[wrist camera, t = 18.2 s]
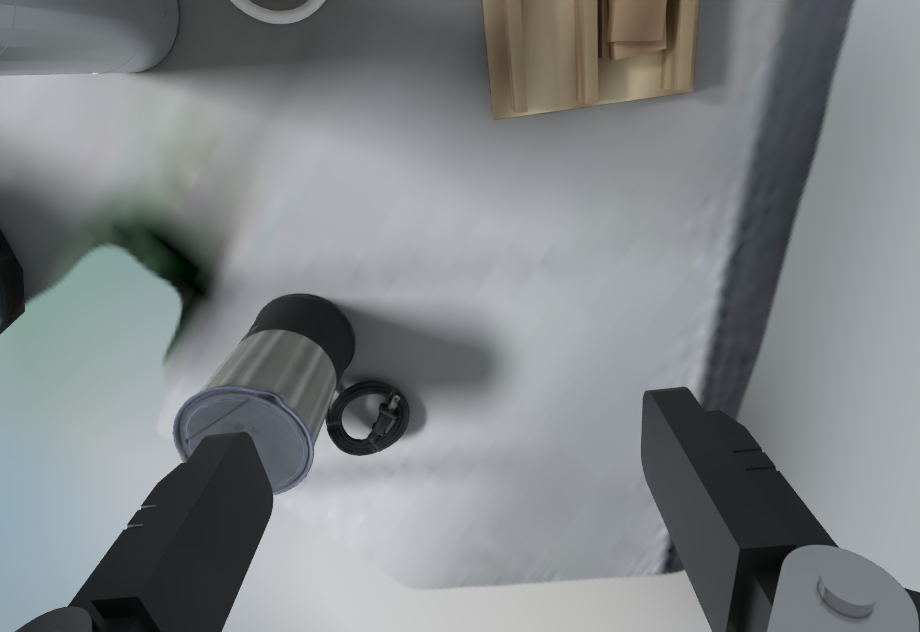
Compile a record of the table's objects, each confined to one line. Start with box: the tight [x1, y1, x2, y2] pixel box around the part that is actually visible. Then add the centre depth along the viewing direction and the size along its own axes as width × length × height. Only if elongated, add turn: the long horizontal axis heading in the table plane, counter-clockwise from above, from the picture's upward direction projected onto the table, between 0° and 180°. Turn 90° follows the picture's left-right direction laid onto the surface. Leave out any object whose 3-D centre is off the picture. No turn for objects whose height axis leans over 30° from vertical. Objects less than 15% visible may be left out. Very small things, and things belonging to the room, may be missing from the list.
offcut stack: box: [597, 0, 667, 60], centre depth 31 cm, size 4×6×4 cm, turn 8°
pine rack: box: [482, 0, 699, 120], centre depth 32 cm, size 14×12×4 cm
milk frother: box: [173, 294, 410, 495], centre depth 41 cm, size 14×16×15 cm
